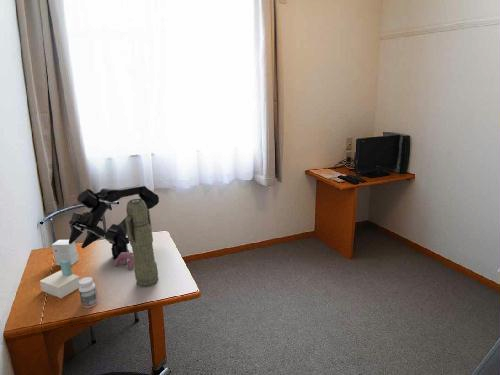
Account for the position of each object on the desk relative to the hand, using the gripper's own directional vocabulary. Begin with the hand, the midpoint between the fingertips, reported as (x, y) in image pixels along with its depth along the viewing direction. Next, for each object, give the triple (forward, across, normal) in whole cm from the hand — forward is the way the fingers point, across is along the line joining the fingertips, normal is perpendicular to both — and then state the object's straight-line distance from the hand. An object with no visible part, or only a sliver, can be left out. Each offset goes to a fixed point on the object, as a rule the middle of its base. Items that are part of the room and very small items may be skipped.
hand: (75, 245), depth 148 cm
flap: (+14, +2, +1) cm, 15 cm away
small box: (+7, -17, +13) cm, 23 cm away
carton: (+17, +2, +4) cm, 18 cm away
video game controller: (-2, +11, +21) cm, 23 cm away
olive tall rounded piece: (+2, +30, +18) cm, 34 cm away
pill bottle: (+18, +22, +4) cm, 29 cm away
